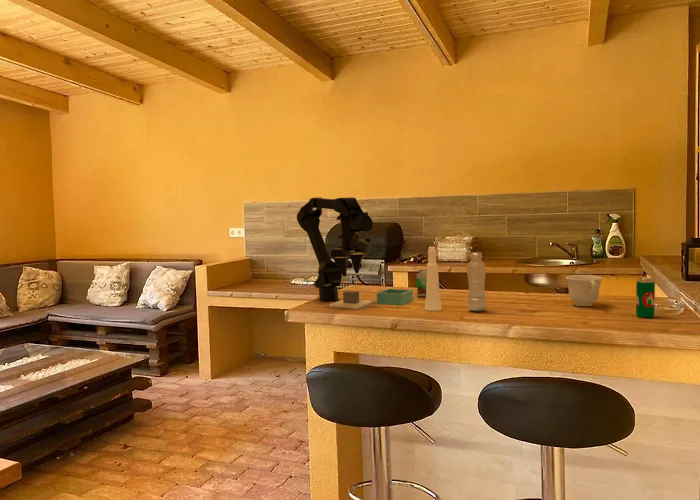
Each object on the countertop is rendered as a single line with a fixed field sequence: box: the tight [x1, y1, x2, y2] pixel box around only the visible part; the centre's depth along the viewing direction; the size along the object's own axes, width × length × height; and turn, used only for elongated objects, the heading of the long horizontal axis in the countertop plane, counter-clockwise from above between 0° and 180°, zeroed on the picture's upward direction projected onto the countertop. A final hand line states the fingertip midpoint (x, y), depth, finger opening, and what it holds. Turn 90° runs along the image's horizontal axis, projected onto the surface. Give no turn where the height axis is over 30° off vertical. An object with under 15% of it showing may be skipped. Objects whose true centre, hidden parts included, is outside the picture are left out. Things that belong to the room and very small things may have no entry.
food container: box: [416, 269, 427, 299], centre depth 213 cm, size 12×6×10 cm, turn 168°
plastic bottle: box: [466, 251, 488, 312], centre depth 180 cm, size 6×7×20 cm
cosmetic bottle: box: [424, 246, 443, 312], centre depth 185 cm, size 6×6×22 cm
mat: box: [326, 301, 377, 311], centre depth 194 cm, size 14×14×1 cm
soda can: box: [635, 277, 656, 319], centre depth 163 cm, size 5×5×12 cm
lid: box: [328, 290, 374, 310], centre depth 194 cm, size 12×12×5 cm
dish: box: [376, 288, 414, 306], centre depth 197 cm, size 10×10×5 cm
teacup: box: [564, 274, 604, 307], centre depth 182 cm, size 12×15×10 cm
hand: (350, 274), depth 193 cm, fingers open, 9 cm apart
